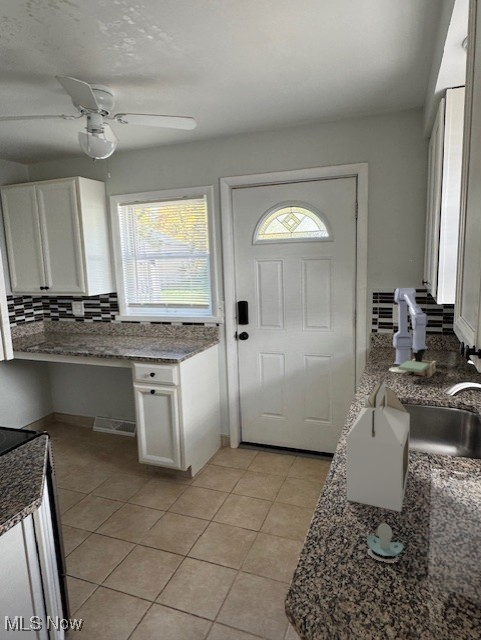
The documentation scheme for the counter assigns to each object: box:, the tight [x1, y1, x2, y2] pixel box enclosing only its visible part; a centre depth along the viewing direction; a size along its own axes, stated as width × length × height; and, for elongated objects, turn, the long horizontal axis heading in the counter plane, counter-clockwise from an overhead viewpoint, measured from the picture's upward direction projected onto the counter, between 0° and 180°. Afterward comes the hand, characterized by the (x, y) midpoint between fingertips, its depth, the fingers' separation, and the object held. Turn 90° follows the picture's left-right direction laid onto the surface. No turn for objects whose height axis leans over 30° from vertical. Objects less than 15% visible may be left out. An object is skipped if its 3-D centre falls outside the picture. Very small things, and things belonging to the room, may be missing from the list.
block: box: [413, 369, 427, 377], centre depth 214 cm, size 5×5×5 cm
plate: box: [388, 366, 407, 374], centre depth 222 cm, size 10×10×1 cm
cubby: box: [406, 357, 437, 379], centre depth 215 cm, size 14×11×6 cm
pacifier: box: [366, 523, 404, 562], centre depth 86 cm, size 7×6×6 cm
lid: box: [397, 361, 430, 373], centre depth 204 cm, size 14×11×2 cm
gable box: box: [345, 378, 411, 512], centre depth 110 cm, size 22×13×28 cm, turn 153°
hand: (418, 363), depth 211 cm, fingers closed
